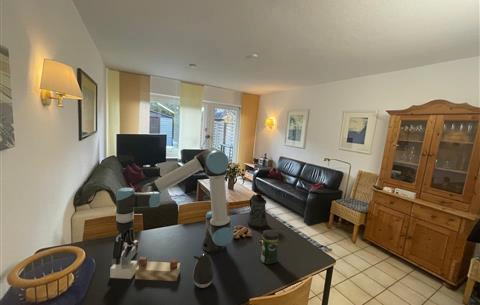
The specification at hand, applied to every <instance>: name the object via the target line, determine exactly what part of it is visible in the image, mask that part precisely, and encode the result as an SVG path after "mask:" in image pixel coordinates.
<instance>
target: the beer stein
mask: <svg viewBox="0 0 480 305" xmlns="http://www.w3.org/2000/svg"><path fill="white" fill-rule="evenodd" d="M248 204H249V207H250V211H249V214H248V217H247V221H246V223H247V226H248V227H249V228H251V229H253V230H265V229H266V228H267V225H268V220H267V212H266V211H267V210H266V205H267V200H266V199H265V198H264V197H263V196H262V194H259V193H256V194H253V195H252V196H251V197H250V198H249V202H248Z"/></svg>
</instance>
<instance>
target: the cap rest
mask: <svg viewBox="0 0 480 305" xmlns="http://www.w3.org/2000/svg"><path fill="white" fill-rule="evenodd" d="M137 267H138V260H130V261H129V263H128V264H127V265H122V270H115V264H112V266H111V267H110V270H109V271H110V273H109V274H110V275H109V278H110V279H128V280H131V279H132V278H133V277H134V276H135V269H136V268H137Z"/></svg>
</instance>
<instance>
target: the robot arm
mask: <svg viewBox="0 0 480 305" xmlns="http://www.w3.org/2000/svg"><path fill="white" fill-rule="evenodd" d="M229 162H230V161H229V158H228V156H227V154H226V153H225V152H224V151H222V150H219V149H217V148H213V147H211V148H207V149H205V150H203V151H202V152H200V153H198V154H197V155H195V156H194V158H193V159H191V160H189V161H188V162H185V163H184V164H182V165H181V166H179V167H177V168H176V169H174V170H172V171H170V172H169V173H167V174H165V175H163V176H162V177H161V176H160V178H157V179H156V180H155V181H153V182H150V183H146V184H145V185H143V187H142V189H141V191H140V192H139V191H138V192H135V189H134V188H132V187H121V188H119V189H118V190H117V191H116V198H115V200H116V205H115V207H116V208H115V209H116V211H115V212H116V213H115V216H116V217H115V218H116V219H115V220H116V221H115V230H117V231H118V234H117V236H114V239H113V240H114V243H113V250H112V256H111V260H112V259H115V270H122V256H121V255H122V250H123V246H124V242H127V244H128V245H126V246H132V244H133V245H134V243H135V242H133V241H135V240H136V239H135V237H134V235H135V230H134V229H135V226H134V222H135V220H134V218H135V209H138V208H142V209H143V208H144V209H145V208H157V207H159V206H160V204H161V193H163V192H165V191H167V190H169V189H170V188H172V187H173V186H175V185H177V184H179V183H181V182H182V181H184V180H185V179H187V178H189V177H191V176H192V175H194V174H196V173H197V172H200V171H205V176H206V177H207V178H209V179H208V181H209V182H208V183H209V191H210V192H209V194H210V204H211V205H210V206H211V208H210V209H211V210H210V211H207V212H206V213H205V214H206V215H205V232H204V236H203V239H202V241H201V249H202V250H203V251H205V252H206V253H211V254H212V253H214V254H215V253H219V252H222V251H224V250H225V248H226V246H227V245H228V244H230V243H231V241H232V240H233V238H234V232H233V228H232V226H231V218H230V216H229V215H228V208H227V207H228V206H227V193H226V181H225V179H226V178H225V177H226V176H227V174H228V167H229V164H230V163H229Z"/></svg>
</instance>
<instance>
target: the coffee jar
mask: <svg viewBox="0 0 480 305" xmlns="http://www.w3.org/2000/svg"><path fill="white" fill-rule="evenodd" d="M261 237H262V247H261V251H260V252H261V253H260V260H261V262H262V263H263V264H265V265H272V264H273V265H274V264H276V263H277V262H278V242H279V241H280V240H279V239H280V233H279V232H278V230H276V229H267V230H265V229H264V230H262V235H261Z"/></svg>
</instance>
